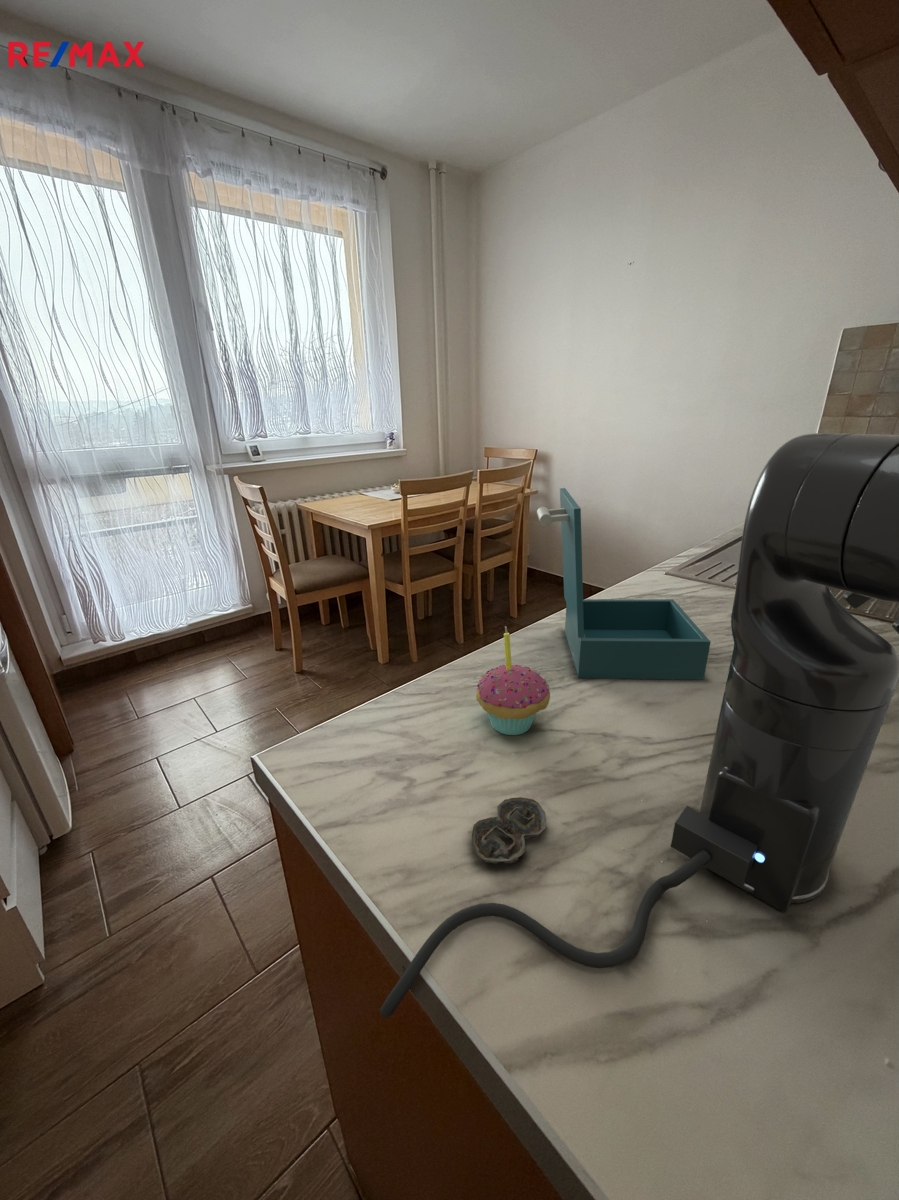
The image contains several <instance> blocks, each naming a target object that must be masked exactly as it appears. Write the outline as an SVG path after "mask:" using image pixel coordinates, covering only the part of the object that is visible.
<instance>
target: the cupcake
mask: <svg viewBox="0 0 899 1200" xmlns="http://www.w3.org/2000/svg"><path fill="white" fill-rule="evenodd" d="M504 631H505V632H504V633H503V641H504V656H505V657H504V659H505V664H502V665H499V666H496V667H494V668H490V669H489V670H487V671H486V672H485V673H484V674H483V675H481V678H480V679H478V681H479V682H478V683H477V687H476V693H475V698H476V701H477V702H478V704H479V705H480V707H482V709H483V711H484V712H486V713H487V715H488V718H489V721H490V724H491V726H492V728H493V729H494V730H495V731H496V732H498V733H500V734H502V735H507V736H518V735H522V734H524V733H526V732H527V731H529V730H530V729H531V727H532V724H533V722H534V719H535V717H536V715H537V713H539V712H540V711H542V710H545V709H547V707H548V705H549V703H550V699H551V692H550V685H549V684H548V683H547V680H546V678H543V676H541V675H540V673H538V671H537V670H534V669H532V668H530V667H527V666H523V665H518V664H512V653H511V652H512V650H511V637H510V636H511V634H510V632H508V627H507V626H506V625H505V626H504Z"/></svg>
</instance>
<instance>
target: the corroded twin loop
mask: <svg viewBox="0 0 899 1200" xmlns="http://www.w3.org/2000/svg"><path fill="white" fill-rule="evenodd" d="M496 809H497V816H493V817H487V818H483V819H479V820H478V821H476V822H475V823H474V824H473V827H472V832H471V844H472V848H473V849H474V852H475V854H476V855H477V856H478V857H479V858H480V859H481V860H483V862H485V863H487V864H489V863H490V864H499V863H502V862H503V863H504V864H513V863H516V862H518V860H519V858H520V857H521V856H523V855H524V853H525V851H526V840H527V839H531V838H537V837H539V835H541V833H542V832H543V831H544V830H545V829H546V828H547V827H546V826H547V825H546V822H547V816H546V812H545V810H544V809H543V807H542V806H541V804H540V803H539V801H536V800H535V799H533V798H528V797H522V796H521V797H510V798H507V799H504V800H502V802H500V803H499V804H498V805H497V806H496ZM514 813H517V814H518V816H519V818H520V819H521V820H522V821H524V822H525V823H526V824H522V823H521V822H520V821H519V820H517V819H516V818H514V817H512V815H513V814H514ZM527 822H528V823H527ZM492 831H499V832H500V833H502V834H503V835H504V836H506V837H507V838H508V839H510V840H513V842H512V843H511V844H510V845H509V846H508V847H507V848H506V849H504V850H502V848H503V847H504V846H505V845H506V844H505V842H504V841H503V840H502V839H501V838H500V837H499V836H496V835H494V834H492V835H491V833H492ZM489 835H490V836H489ZM487 837H488V838H487Z"/></svg>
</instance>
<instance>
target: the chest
mask: <svg viewBox="0 0 899 1200" xmlns="http://www.w3.org/2000/svg"><path fill="white" fill-rule="evenodd" d="M565 603H566V602H565ZM583 618H584V637H580V638H578V636H577V633H576V630H575V627H574V624H573V621H572V618H571V615H570V612H569V609H568V606H567V603H566V606H565V619H564V620H565V622H564V634H565V638H566V641H567V644H568V648H569V650H570V655H571V658H572V662H573V665H574V669H575V672H576V675H577V678H578V679H625V680H627V679H629V680H630V679H631V680H636V679H637V680H692V681H693V680H696V681H697V680H698V681H700V680H701V681H702V680H705V673H706V669H707V664H708V658H709V654H710V653H709V652H710V647H711V640H710V639H709V638H708V637H707V636H706V634H705V633H704V632H703V631H702V630H701V629H700V628H699V627H698V625H697V624H696V623H695V622H694V621H693V620H692V619H691V618H690V616H689V615H688V614H687V613H686V612H685V611H684V609H683V608H682V607H681V606H680V605H679V604H678V603H677V602H676V601H675V600H674V599H673V598H672V599H670V598H669V599H668V598H667V599H666V598H664V599H663V598H661V599H660V598H659V599H658V598H657V599H656V598H655V599H651V598H650V599H646V598H645V599H637V598H635V599H633V598H630V599H628V598H627V599H625V598H624V599H617V598H615V599H607V598H606V599H599V598H598V599H593V598H592V599H584V598H583Z"/></svg>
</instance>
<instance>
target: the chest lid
mask: <svg viewBox="0 0 899 1200" xmlns="http://www.w3.org/2000/svg"><path fill="white" fill-rule="evenodd" d="M559 503H560V505H559V506H560V507H559V508H551V509H550V508H547V507H546V506H540V507H538V509H537V510H536V515H537V518H538V521H539V523H540V524H541V526H543V527H548V526H550V525H551V524H552V523H554V522H555V523H556V522H560V527H561V528H560V529H561V551H562V552H561V553H562V575H563V596H564V600H565V603H567V606H568V609H569V612H570V615H571V618H572V621H573V624H574V627H575V630H576V633H577V636H578V638H580V637H584V618H583V599H584V585H583V584H584V582H583V579H584V578H583V550H582V549H583V548H582V547H583V546H582V509H581V506H579V504H578V503H577V501H576V500H575V499H574V498H573V497H572V495H571V494H570V492H569V491H568V490H567V489H566V487H564V488H559Z"/></svg>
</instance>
